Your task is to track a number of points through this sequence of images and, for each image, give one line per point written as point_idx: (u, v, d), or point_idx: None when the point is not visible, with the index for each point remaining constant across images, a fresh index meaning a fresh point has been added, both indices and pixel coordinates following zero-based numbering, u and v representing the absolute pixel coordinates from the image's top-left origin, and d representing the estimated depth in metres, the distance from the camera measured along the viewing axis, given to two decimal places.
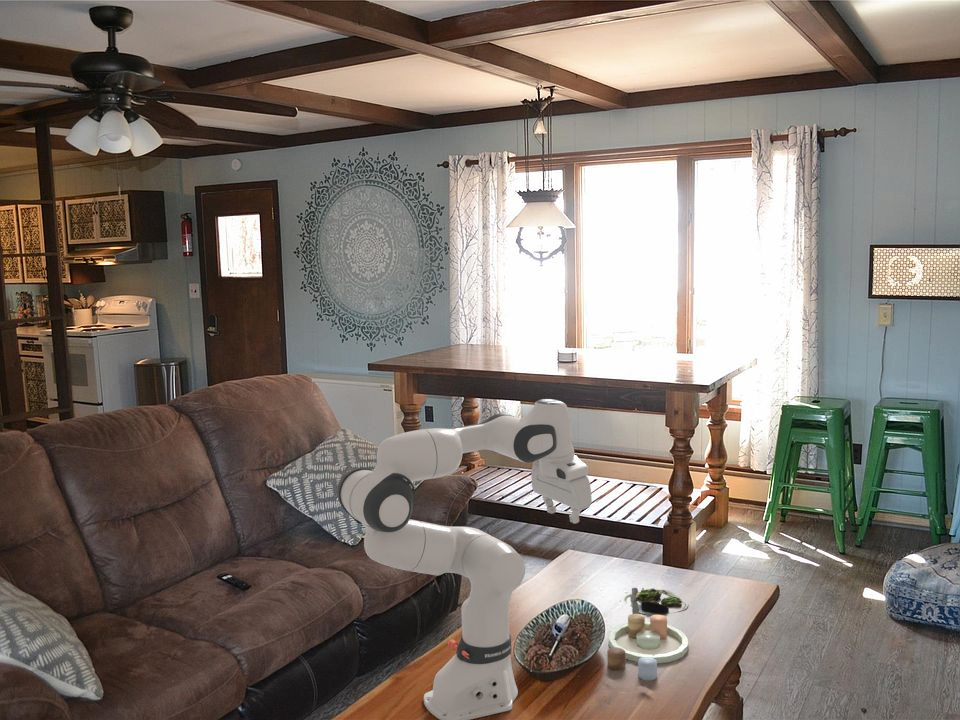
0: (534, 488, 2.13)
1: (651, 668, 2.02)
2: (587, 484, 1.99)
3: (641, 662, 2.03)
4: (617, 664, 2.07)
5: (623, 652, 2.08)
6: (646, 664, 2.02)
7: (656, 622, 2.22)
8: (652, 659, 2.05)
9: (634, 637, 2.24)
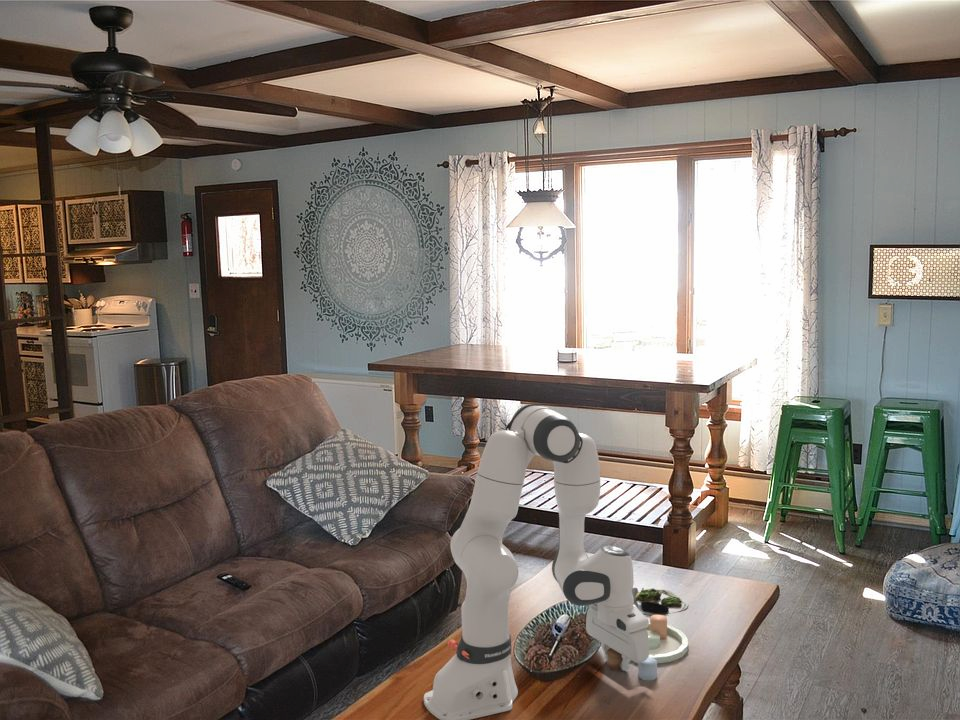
0: (588, 630, 2.15)
1: (651, 668, 2.02)
2: (646, 637, 2.01)
3: (641, 662, 2.03)
4: (617, 664, 2.07)
5: None
6: (646, 664, 2.02)
7: (656, 622, 2.22)
8: (652, 659, 2.05)
9: None
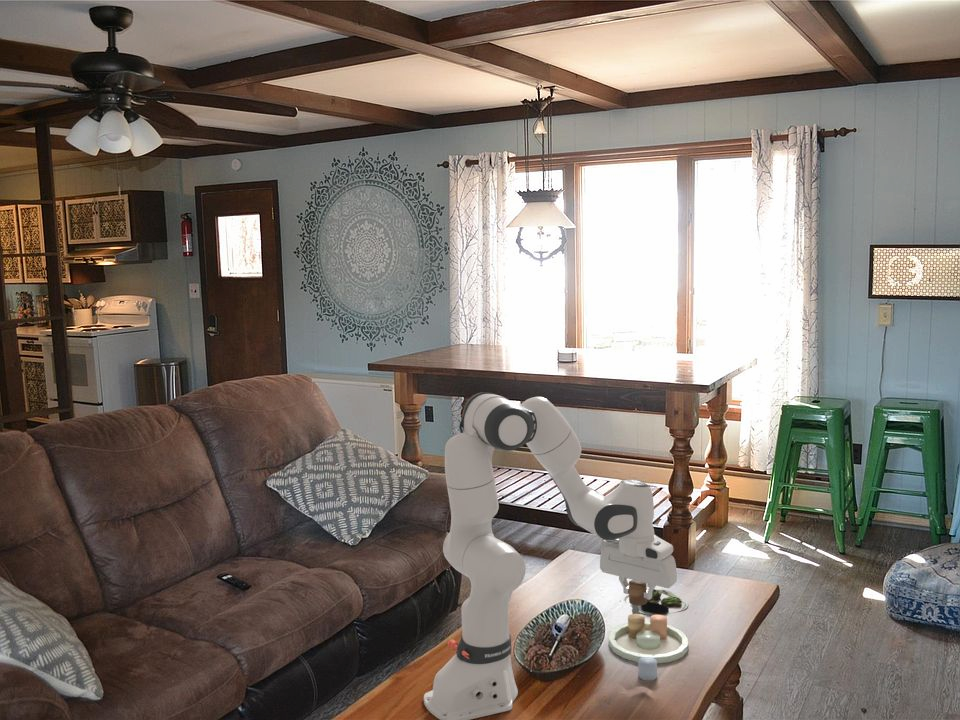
0: (604, 568, 2.17)
1: (651, 668, 2.02)
2: (674, 562, 2.07)
3: (641, 662, 2.03)
4: (642, 595, 2.11)
5: None
6: (646, 664, 2.02)
7: (656, 622, 2.22)
8: (652, 659, 2.05)
9: (634, 637, 2.24)
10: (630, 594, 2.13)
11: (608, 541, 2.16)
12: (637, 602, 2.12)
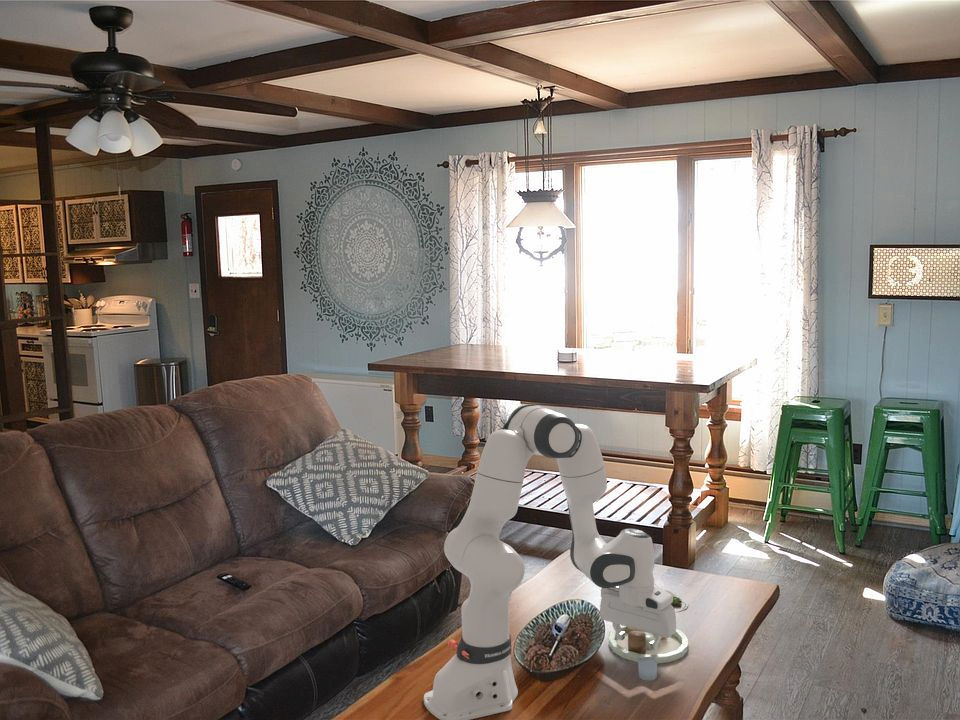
0: (603, 615, 2.19)
1: (651, 668, 2.02)
2: (673, 612, 2.09)
3: (641, 662, 2.03)
4: (641, 646, 2.14)
5: (643, 634, 2.15)
6: (646, 664, 2.02)
7: None
8: (652, 659, 2.05)
9: None
10: (629, 645, 2.15)
11: (608, 589, 2.18)
12: None
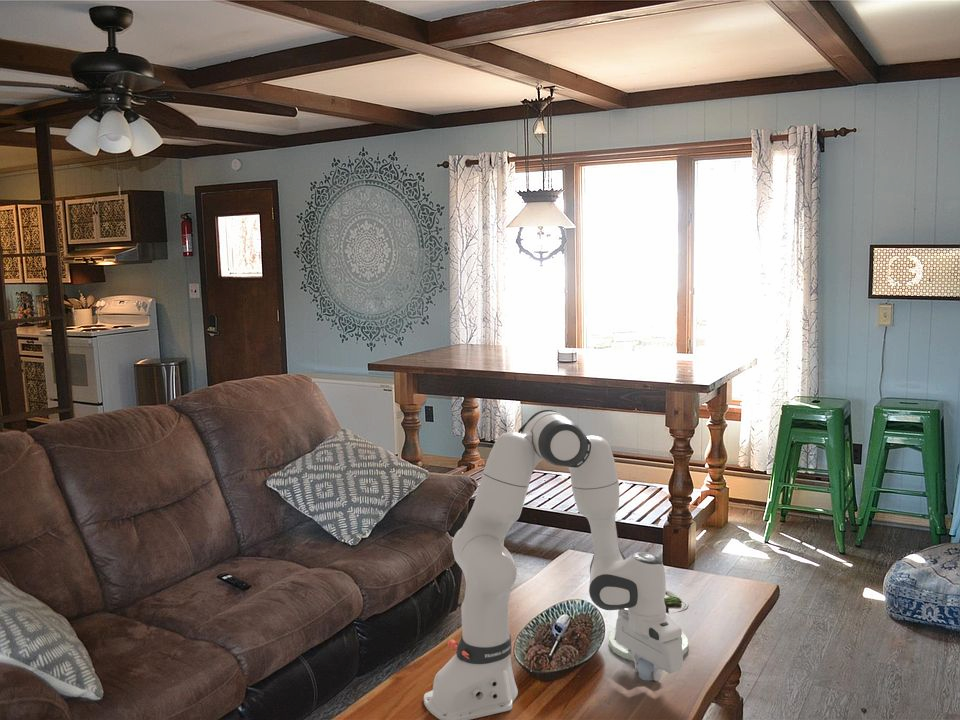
0: (618, 639, 2.10)
1: (651, 667, 2.02)
2: (679, 647, 1.96)
3: (641, 662, 2.03)
4: None
5: None
6: (646, 664, 2.02)
7: None
8: None
9: None
10: None
11: (624, 612, 2.09)
12: None
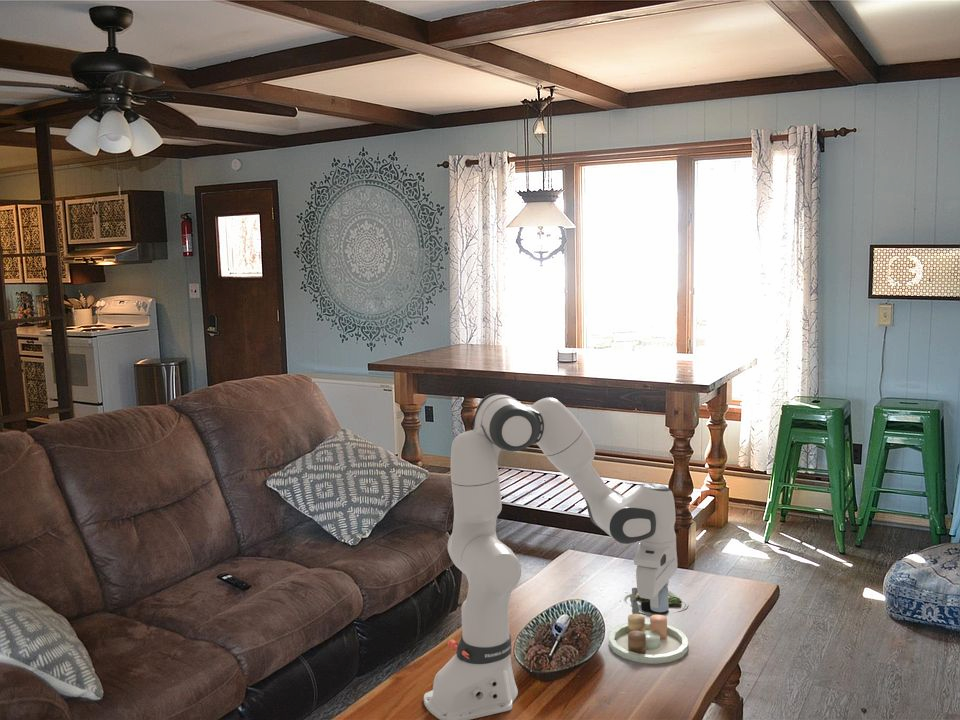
0: None
1: None
2: (651, 576, 1.99)
3: None
4: (641, 646, 2.14)
5: (643, 634, 2.15)
6: None
7: (656, 622, 2.22)
8: (665, 590, 2.08)
9: None
10: (629, 645, 2.15)
11: None
12: None
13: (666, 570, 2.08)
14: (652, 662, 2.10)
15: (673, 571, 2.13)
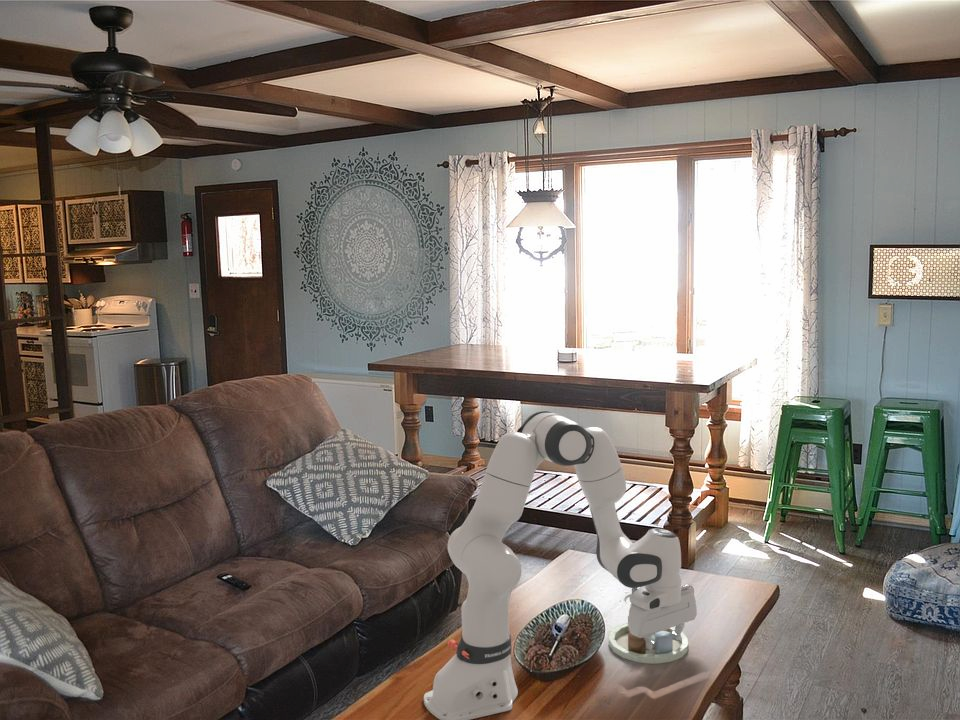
0: None
1: (655, 638, 2.14)
2: (638, 616, 2.08)
3: (660, 632, 2.16)
4: (641, 646, 2.14)
5: None
6: (657, 634, 2.15)
7: None
8: (667, 637, 2.13)
9: None
10: (629, 645, 2.15)
11: None
12: None
13: (671, 615, 2.13)
14: (652, 662, 2.10)
15: (687, 618, 2.16)
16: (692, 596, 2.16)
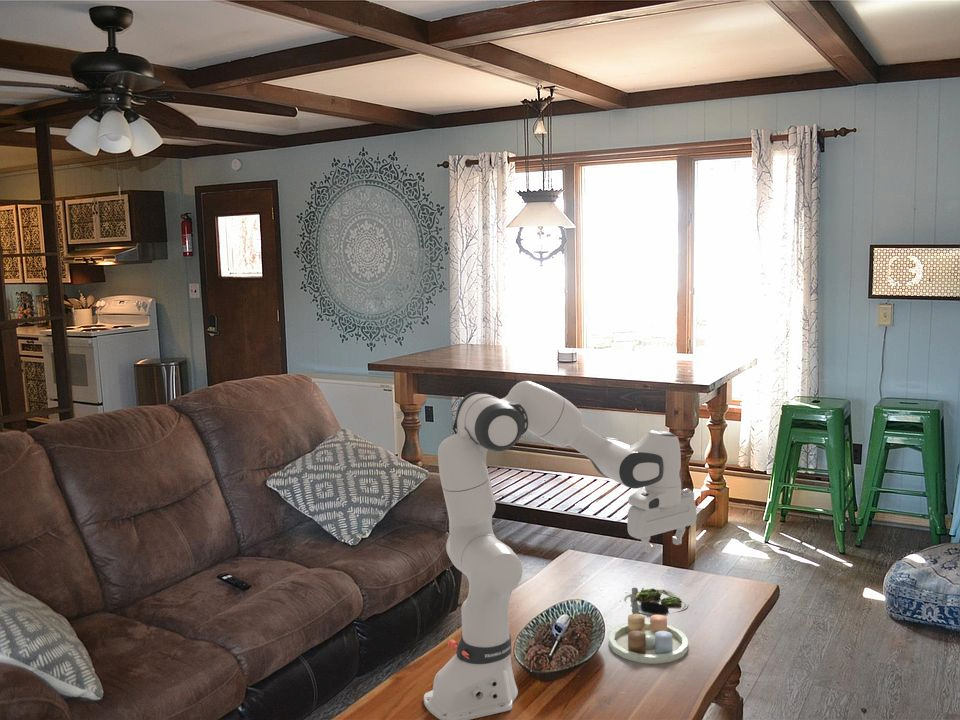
0: None
1: (655, 638, 2.14)
2: (637, 516, 2.04)
3: (660, 632, 2.16)
4: (641, 646, 2.14)
5: (643, 634, 2.15)
6: (657, 634, 2.15)
7: (656, 622, 2.22)
8: (667, 637, 2.13)
9: None
10: (629, 645, 2.15)
11: None
12: None
13: (670, 517, 2.09)
14: (652, 662, 2.10)
15: (687, 522, 2.12)
16: (692, 500, 2.13)
